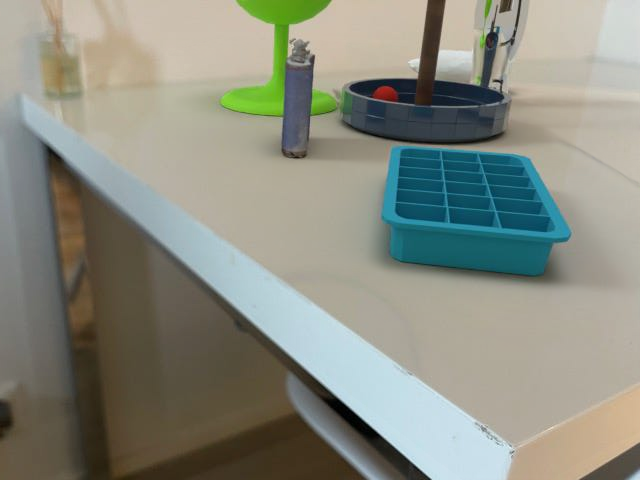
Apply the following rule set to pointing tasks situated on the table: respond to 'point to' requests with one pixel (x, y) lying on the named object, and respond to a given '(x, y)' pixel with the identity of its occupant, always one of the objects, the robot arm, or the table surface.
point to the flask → (297, 99)
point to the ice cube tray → (470, 210)
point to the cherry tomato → (385, 94)
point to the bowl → (426, 110)
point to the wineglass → (277, 58)
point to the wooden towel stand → (429, 52)
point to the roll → (450, 65)
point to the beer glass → (496, 40)
